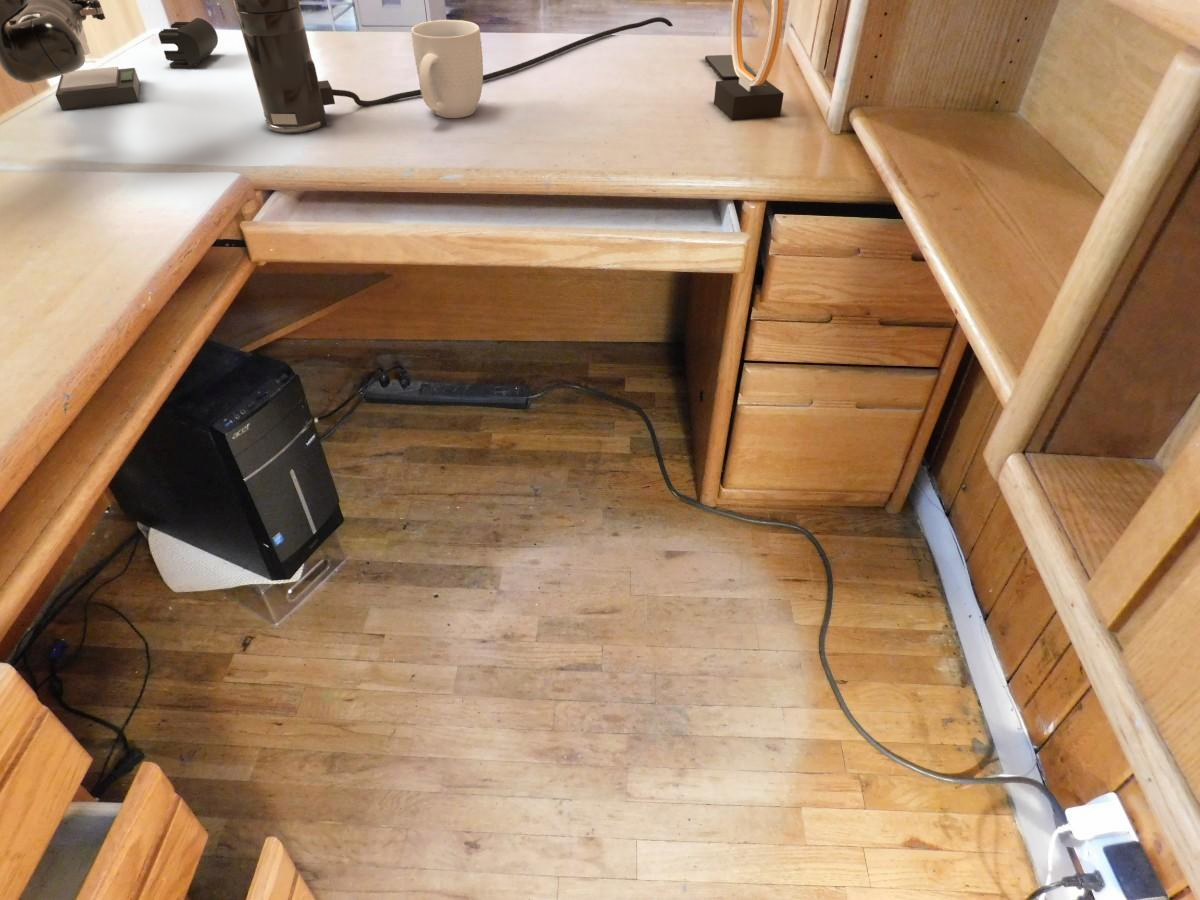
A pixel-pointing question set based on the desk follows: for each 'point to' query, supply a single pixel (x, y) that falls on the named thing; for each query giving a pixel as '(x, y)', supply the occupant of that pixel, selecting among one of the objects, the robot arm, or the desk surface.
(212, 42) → the end cap
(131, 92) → the scale
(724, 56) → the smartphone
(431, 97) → the mug
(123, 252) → the desk surface
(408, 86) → the desk surface
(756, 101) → the lamp
